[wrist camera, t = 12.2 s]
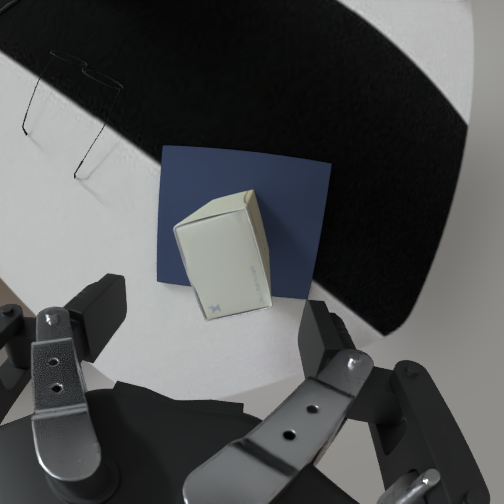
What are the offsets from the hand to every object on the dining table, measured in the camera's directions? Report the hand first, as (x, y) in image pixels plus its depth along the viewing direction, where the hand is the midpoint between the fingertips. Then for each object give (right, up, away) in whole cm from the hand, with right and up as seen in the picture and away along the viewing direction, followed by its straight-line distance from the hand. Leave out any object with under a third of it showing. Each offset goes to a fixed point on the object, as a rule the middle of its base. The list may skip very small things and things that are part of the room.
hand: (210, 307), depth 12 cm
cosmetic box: (+1, +5, +16) cm, 16 cm away
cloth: (0, +5, +16) cm, 17 cm away
